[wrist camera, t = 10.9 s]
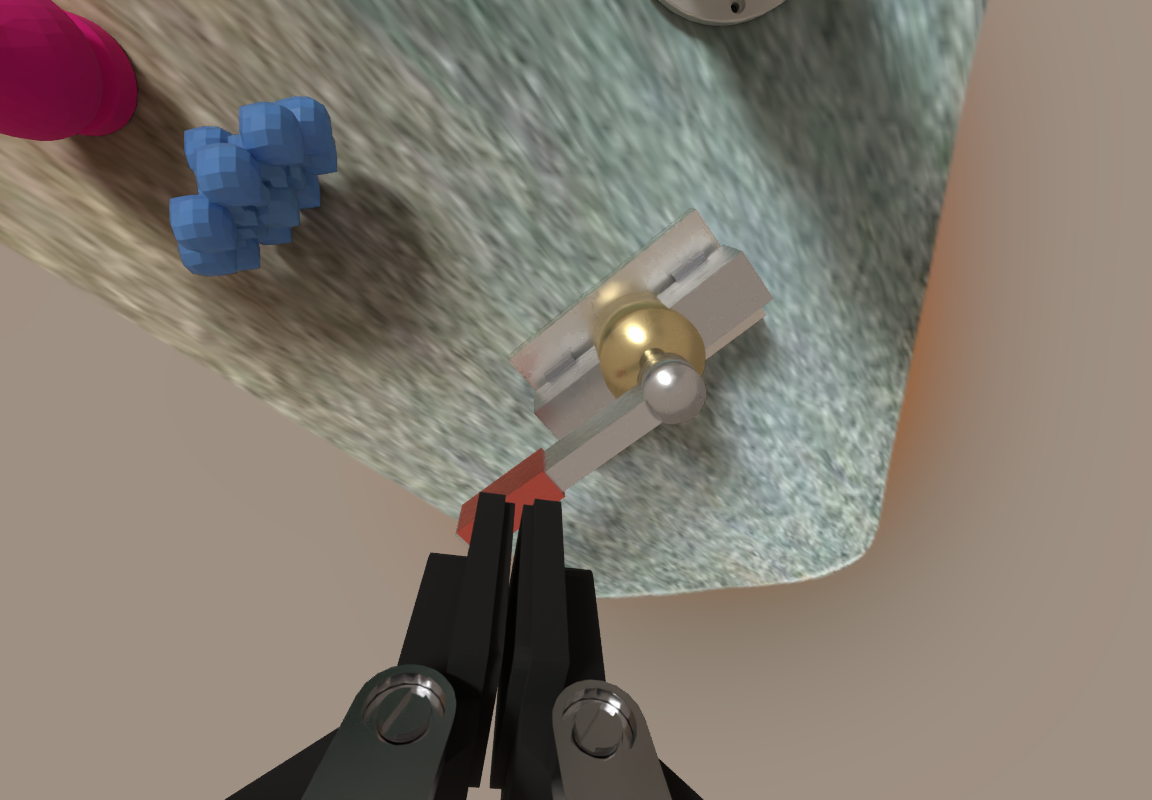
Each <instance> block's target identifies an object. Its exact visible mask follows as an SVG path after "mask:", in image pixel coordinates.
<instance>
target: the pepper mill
mask: <svg viewBox="0 0 1152 800" xmlns="http://www.w3.org/2000/svg"><path fill="white" fill-rule="evenodd" d="M136 103H137V84H136V78H135V74H134V71H133V69H132V66H131V64H130V62H129V60H128V58H127V56H126V54H125V53H124V51H123V50H122V49H121V47H120V46H119V44H118V43H117V42H116V41H115V40H114V39H113V38H112V37H111V36H110V35H109V34H108V33H107V32H106V31H105V30H103V29H102V28H101V27H100V26H98V25H97V24H95V23H94V22H92V21H90V20H88V19H86V18H84V17H81V16H78V15H76V14H73V13H70V12H67V11H65V10H62V9H61V8H60V7H58V6H57V5H56V4H55V3H54V2H52V1H51V0H0V133H1V134H5V135H9V136H12V137H18V138H24V139H30V140H38V141H54V140H60V139H64V138H67V137H70V136H73V135H75V134H79V135H88V136H102V135H106V134H111V133H113V132H115V131H117V130H119V129H121V128H122V127H123V126H125V125H126V123H127V122H128V121H129V120H130V118H131V116H132V115H133V113H134V110H135V108H136Z"/></svg>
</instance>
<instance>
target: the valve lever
mask: <svg viewBox="0 0 1152 800" xmlns="http://www.w3.org/2000/svg"><path fill="white" fill-rule="evenodd" d="M705 400H706V386H705V383H704V381H703V379H702V377H701V376H700V375H699V374H698V373H697V371H696V370H695V369H694V368H693V367H692V365H691V364H690V363H689V362H688V361H687V360H686V359H685V358H684V357H682V356H681V355H679V354H676V353H669V352H667V353H660V354H657V355H655V356H653V357H651V358H649V359H648V360H647V361H646V362H645V363H644V364H643V365H642V367H641V369H640V371H639V373H638V377H637V385H635V386H634V387H632V388H631V389H630V390H628V391H627V392H626V393H624V394H623V395H621V396H620V397H619V398H617V399H616V400H614V401H613V402H612V403H610V404H609V405H608V406H606V407H605V408H603V409H602V410H601V411H599V412H598V413H596V414H595V415H594V416H592V417H591V418H590V419H588V420H587V421H585V422H584V423H583V424H581V425H580V426H578V427H577V428H576V429H574V430H573V431H572V432H570V433H569V434H567V435H566V436H565V437H563V438H562V439H560V440H559V441H558V442H556V443H555V444H554V445H552V446H551V447H549V448H548V449H547V450H545V451H544V450H543V449H542V448H540V449H539V450H537V451H536V452H535V453H533V454H532V455H531V456H529V457H528V458H526V459H525V460H524V461H522V462H521V463H520V464H518V465H517V466H515V467H514V468H513V469H511V470H510V471H509V472H507V473H506V474H504V475H503V476H502V477H500V478H499V479H497V480H496V481H495V482H493V483H492V484H491V485H489V486H488V487H486V488H485V489H484V490H482V491H481V492H487V493H495V494H503V495H506V500H505V502H510V503H515V516H514V528H513V533H514V532H515V531H517V530H518V529H519V526H520V520H521V515H522V509H523V505H524V504H526V505H533V503H534V499H543V500H551V501H560V500H561V499H562V498H564V497H565V493H564V491H565V490H567V489H568V488H569V487H571V486H572V485H574V484H575V483H577V482H578V481H579V480H581V479H582V478H584V477H585V476H587V475H588V474H589V473H591V472H592V471H594V470H595V469H597V468H598V467H599V466H601V465H602V464H604V463H605V462H607V461H608V460H609V459H611V458H612V457H614V456H615V455H616V454H618V453H619V452H621V451H622V450H624V449H625V448H626V447H628V446H629V445H631V444H632V443H634V442H635V441H636V440H638V439H639V438H641V437H642V436H644V435H645V434H646V433H648V432H649V431H651V430H652V429H654V428H655V427H656V426H658V425H659V424H661V423H666V424H680V423H683V422H686V421H688V420H690V419H692V418H693V417H694V416H696V415H697V414H698V413H699V411H700V410H701V409H702V407H703V405H704V403H705ZM478 498H479V493H478V494H477V495H475V496H474V497H473V498H471V499H470V500H468V501H467V502H466V503H464V504H463V505H462V509H461V512H460V516H459V520H458V525H457V530H456V534H455V536H456V537H457V538H458V539H459V540H460V541H461V542H462V543H463V544H464V545H465V546H466V547H467V548H468V549H469V545H470V540H471V535H472V529H473V524H474V519H475V514H476V508H477V503H478Z"/></svg>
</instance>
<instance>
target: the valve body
mask: <svg viewBox="0 0 1152 800" xmlns="http://www.w3.org/2000/svg"><path fill="white" fill-rule="evenodd" d="M772 299H773V297H772V296H771V294H770V293H769V291H768V290H767V288H766V287H765V285H764V283H763V282H762V280H761V279H760V277H759V276H758V274H757V273H756V271H755V270H754V268H753V267H752V265H751V264H750V262H749V260H748V259H747V257H746V256H745V254H744V253H743V251H740V250H737V249H734V248H732V247H729V246H726V245H722V246H720V244H719V243H718V241H717V240H716V238H715V237H714V235H713V234H712V232H711V231H710V229H709V228H708V226H707V225H706V223H705V222H704V220H703V219H702V217H701V216H700V214H699V213H698V211H697V210H696V209H692V208H690V209H688V210H687V211H686V212H685V213H683V214H682V215H681V216H680V217H678V218H677V219H676V220H675V221H674V222H672V223H671V224H670V225H669V226H667V227H666V228H665V229H664V230H662V231H661V232H660V233H659V234H657V235H656V236H655V237H654V238H652V239H651V240H650V241H649V242H648V243H646V244H645V245H644V246H643V247H641V248H640V249H639V250H638V251H636V252H635V253H634V254H633V255H631V256H630V257H629V258H628V259H627V260H625V261H624V262H623V263H622V264H620V265H619V266H618V267H617V268H615V269H614V270H613V271H612V272H610V273H609V274H608V275H607V276H605V277H604V278H603V279H602V280H601V281H599V282H598V283H597V284H596V285H594V286H593V287H592V288H591V289H589V290H588V291H587V292H586V293H584V294H583V295H582V296H581V297H580V298H578V299H577V300H576V301H575V302H573V303H572V304H571V305H570V306H568V307H567V308H566V309H565V310H563V311H562V312H561V313H560V314H559V315H557V316H556V317H555V318H554V319H552V320H551V321H550V322H549V323H547V324H546V325H545V326H544V327H542V328H541V329H540V330H539V331H537V332H536V333H535V334H534V335H533V336H531V337H530V338H529V339H528V340H526V341H525V342H524V343H523V344H521V345H520V346H519V347H518V348H516V349H515V350H514V351H513V352H512V353H510V356H509V361H510V362H511V363H512V364H513V365H514V366H515V367H516V369H517V370H518V371H519V372H520V373H521V374H522V375H523V376H524V377H525V379H526V380H527V381H528V382H529V383H530V384H531V385H532V386H533V387H534V389H535V390H536V392H534V414H535V415H536V416H537V417H538V418H539V419H540V420H541V421H542V422H543V424H544V425H545V426H546V427H547V428H548V429H549V430H550V431H551V432H552V433H553V434H554V435H555V437H556V438H557V439H558V440H560V439H562V438H563V437H565V436H566V435H567V434H569V433H570V432H572V431H573V430H574V429H576V428H577V427H578V426H580V425H581V424H583V423H584V422H585V421H587V420H588V419H590V418H591V417H592V416H594V415H595V414H596V413H598V412H599V411H601V410H602V409H603V408H605V407H606V406H608V405H609V404H610V403H612V402H613V401H614V400H616V399H617V398H619V397H620V396H621V395H623V394H624V393H626V392H627V391H628V390H630V389H631V388H632V387H634V386H635V385H637V377H638V373H639V371H640V369H641V367H642V365H643V364H644V363H645V362H646V361H647V360H648V359H649V358H651V357H653V356H655V355H657V354H660V353H667V352H669V353H676V354H679V355H681V356H682V357H684V358H685V359H686V360H687V361H688V362H689V363H690V364H691V365H692V367H693V368H694V369H695V370H696V371H697V373H698V374H699V375H700V376H701V377H702V374H703V371H704V368H705V361H706V359H708V358H709V357H710V356H712V355H713V354H714V353H716V352H717V351H719V350H720V349H721V348H723V347H724V346H725V345H727V344H728V343H729V342H731V341H732V340H733V339H735V338H736V337H737V336H739V335H740V334H741V333H743V332H744V331H745V330H747V329H748V328H749V327H751V326H752V325H754V324H755V323H756V322H758V321H759V320H760V319H762V318H763V317H764V316H766V313H765V312H764V310H763V309H762V307H763V306H764V305H765V304H767V303H768V302H769V301H771V300H772Z"/></svg>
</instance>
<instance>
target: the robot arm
mask: <svg viewBox="0 0 1152 800" xmlns="http://www.w3.org/2000/svg"><path fill="white" fill-rule="evenodd" d="M658 1H659V2H661V3H662V4H663V5H664V6H666V7H667V8H668V9H669V10H670V11H672V12H673V13H675V14H677V15H679V16H681V17H683V18H685V19H687V20H689V21H693V22H697V23H701V24H705V25H709V26H730V25H734V24H739V23H744V22H748V21H750V20H753V19H755V18H757V17H759V16H761V15H764V14H766V13H768V12H769V11H771V10H772V9H774V8H775V7H777V6H778V5H780V4H781V3H783V2H784V1H785V0H658ZM732 4H733V5H735V6H736V8H737V11H736V13H733V12H732V10H731V5H732ZM505 500H506V495H503V494H495V493H487V492H480V493H479V498H478V503H477V508H476V514H475V519H474V524H473V529H472V535H471V540H470V545H469V550H468V556H467V557H466V556H456V555H449V554H439V553H430V555H429V557H428V560H427V564H426V567H425V571H424V575H423V578H422V581H421V585H420V588H419V592H418V595H417V599H416V602H415V606H414V609H413V613H412V616H411V620H410V623H409V627H408V630H407V634H406V637H405V640H404V644H403V648H402V651H401V654H400V658H399V661H398V665H397V666H394V667H391V668H389V669H387V670H384V671H382V672H380V673H378V674H376V675H375V676H374V677H372V678H371V679H370V680H369V681H368V682H366V683H365V684H364V685H363V687H362V688H361V690H360V691H359V692H358V694H357V695H356V697H355V699H354V700H353V702H352V704H351V706H350V708H349V710H348V712H347V714H346V715H345V717H344V719H343V721H342V723H341V725H340V727H339V728H337V729H335V730H334V731H332V732H331V733H329V734H327V735H326V736H324V737H323V738H321V739H320V740H318V741H316V742H315V743H313V744H312V745H310V746H309V747H307V748H305V749H304V750H302V751H301V752H299V753H298V754H296V755H295V756H293V757H291V758H290V759H288V760H286V761H285V762H283V763H282V764H280V765H279V766H277V767H275V768H274V769H272V770H271V771H269V772H267V773H266V774H264V775H263V776H261V777H260V778H258V779H256V780H255V781H253V782H252V783H250V784H249V785H247V786H245V787H244V788H242V789H241V790H239V791H237V792H236V793H234V794H233V795H231V796H230V797H228V798H226V799H225V800H466V798H467V792H468V787H476V788H479V787H480V782H481V776H482V771H483V765H484V760H485V754H486V748H487V743H488V738H489V732H490V726H491V721H492V715H493V710H494V704H495V699H496V693H497V688H498V693H497V705H496V716H495V728H494V741H493V751H492V763H491V775H490V788H493V789H501V800H703V799H702V798H701V797H700V796H699V795H698V794H697V793H696V792H695V791H693V790H692V789H691V788H690V787H689V786H688V785H687V784H686V783H685V782H684V781H683V780H682V779H680V778H679V777H678V776H677V775H676V774H675V773H674V772H673V771H672V770H671V769H669V767H667V766H666V765H665V764H664V763H663V762H662V761H661V760H660V759H659V758H658V756H657V753H656V750H655V747H654V744H653V741H652V738H651V736H650V732H649V729H648V726H647V723H646V720H645V718H644V716H643V714H642V712H641V710H640V708H639V706H638V704H637V703H636V702H635V701H634V700H633V699H632V698H631V696H630V695H629V694H628V693H626V692H625V691H623V690H622V689H620V688H619V687H617V686H615V685H612V684H610V683H607V682H606V680H605V671H604V663H603V654H602V646H601V638H600V629H599V620H598V612H597V604H596V595H595V587H594V578H593V573H592V571H591V570H584V569H575V568H566V567H565V566H564V546H563V527H562V507H561V502H559V501H551V500H543V499H534V503H533V505H526V504H524V505H523V509H522V515H521V520H520V526H519V532H518V538H517V543H516V549H515V555H514V561H513V566H512V573H511V578H510V583H509V577H510V565H511V553H512V540H513V528H514V516H515V503H510V502H505Z"/></svg>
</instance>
